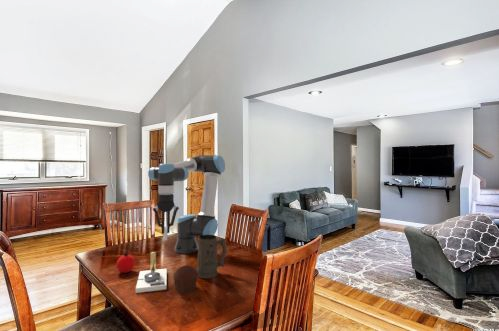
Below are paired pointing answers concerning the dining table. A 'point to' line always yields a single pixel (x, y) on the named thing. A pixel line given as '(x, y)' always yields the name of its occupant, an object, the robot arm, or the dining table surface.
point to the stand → (151, 286)
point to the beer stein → (209, 256)
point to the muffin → (185, 279)
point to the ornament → (125, 263)
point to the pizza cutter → (152, 270)
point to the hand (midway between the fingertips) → (165, 239)
